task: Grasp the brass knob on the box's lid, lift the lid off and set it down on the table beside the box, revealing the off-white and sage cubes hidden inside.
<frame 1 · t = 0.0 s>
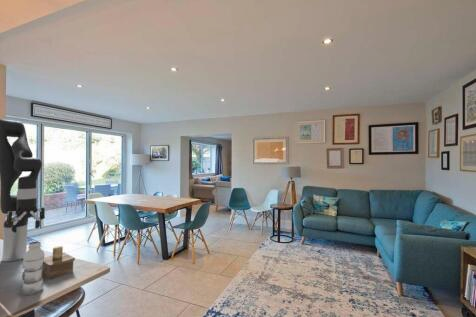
hand: (26, 230, 117), 17 cm above the table, tool pointing down, fingers open, 8 cm apart
lid: (57, 261, 110), point 6 cm above the table, touching box
light bulb: (30, 284, 100), on the table
box: (56, 273, 110), on the table
cube sage: (55, 274, 107), point 1 cm above the table, touching box
plastic bottle: (32, 293, 94), on the table
cube offwhite: (57, 269, 112), point 1 cm above the table, touching box
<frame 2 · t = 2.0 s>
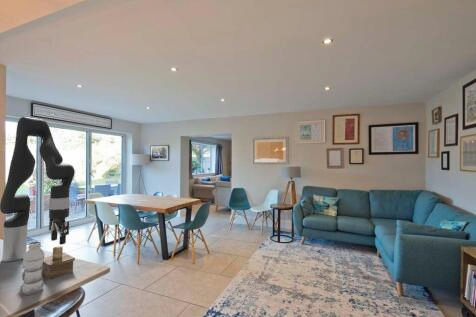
hand: (58, 242, 110), 15 cm above the table, tool pointing down, fingers open, 8 cm apart
nothing on the table moved.
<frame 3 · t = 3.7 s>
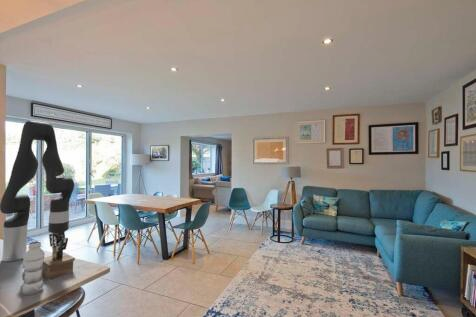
hand: (57, 257, 110), 8 cm above the table, tool pointing down, fingers closed on lid, 3 cm apart
lid: (57, 261, 110), point 6 cm above the table, touching box, gripper
everything else where it was.
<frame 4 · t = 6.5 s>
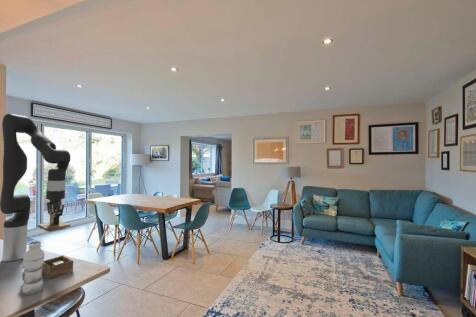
hand: (54, 223, 118), 21 cm above the table, tool pointing down, fingers closed on lid, 3 cm apart
lid: (54, 226, 118), point 19 cm above the table, touching gripper
everything else where it was.
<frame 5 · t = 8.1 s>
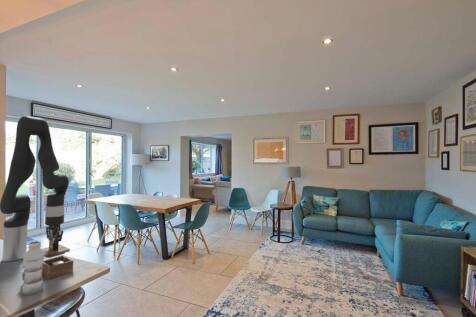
hand: (53, 248, 118), 8 cm above the table, tool pointing down, fingers closed on lid, 3 cm apart
lid: (53, 251, 118), point 6 cm above the table, touching gripper
everything else where it was.
when the fingers open (4 cm above the table, at t = 9.2 s): lid drops 2 cm, point 1 cm above the table.
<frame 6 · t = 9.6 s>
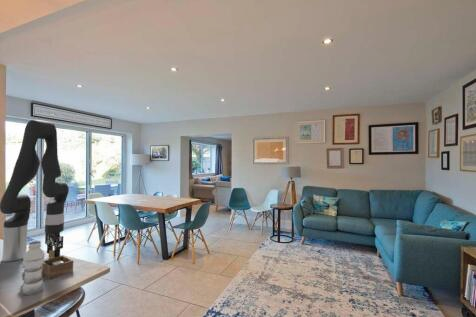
hand: (53, 254, 118), 5 cm above the table, tool pointing down, fingers open, 7 cm apart
lid: (52, 263, 118), point 1 cm above the table
everything else where it was.
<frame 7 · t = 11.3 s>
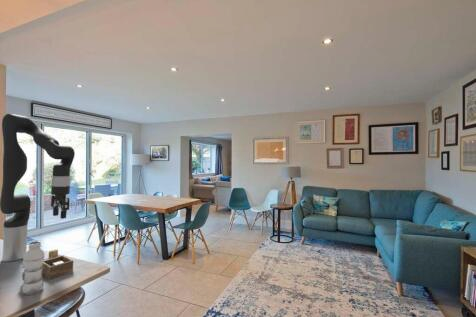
hand: (59, 216, 119), 24 cm above the table, tool pointing down, fingers open, 8 cm apart
nothing on the table moved.
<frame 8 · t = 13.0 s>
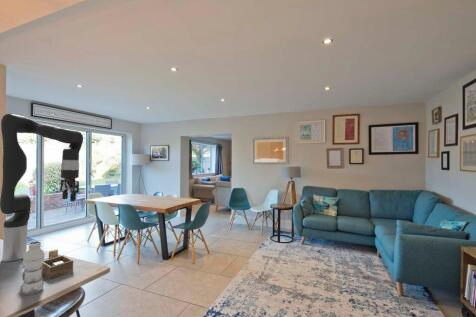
hand: (68, 200, 122), 32 cm above the table, tool pointing down, fingers open, 8 cm apart
nothing on the table moved.
at the end: lid inside the target area (0.1 cm from its centre), point 0.8 cm above the table; lid tilted 0°; the gripper is holding nothing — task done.
